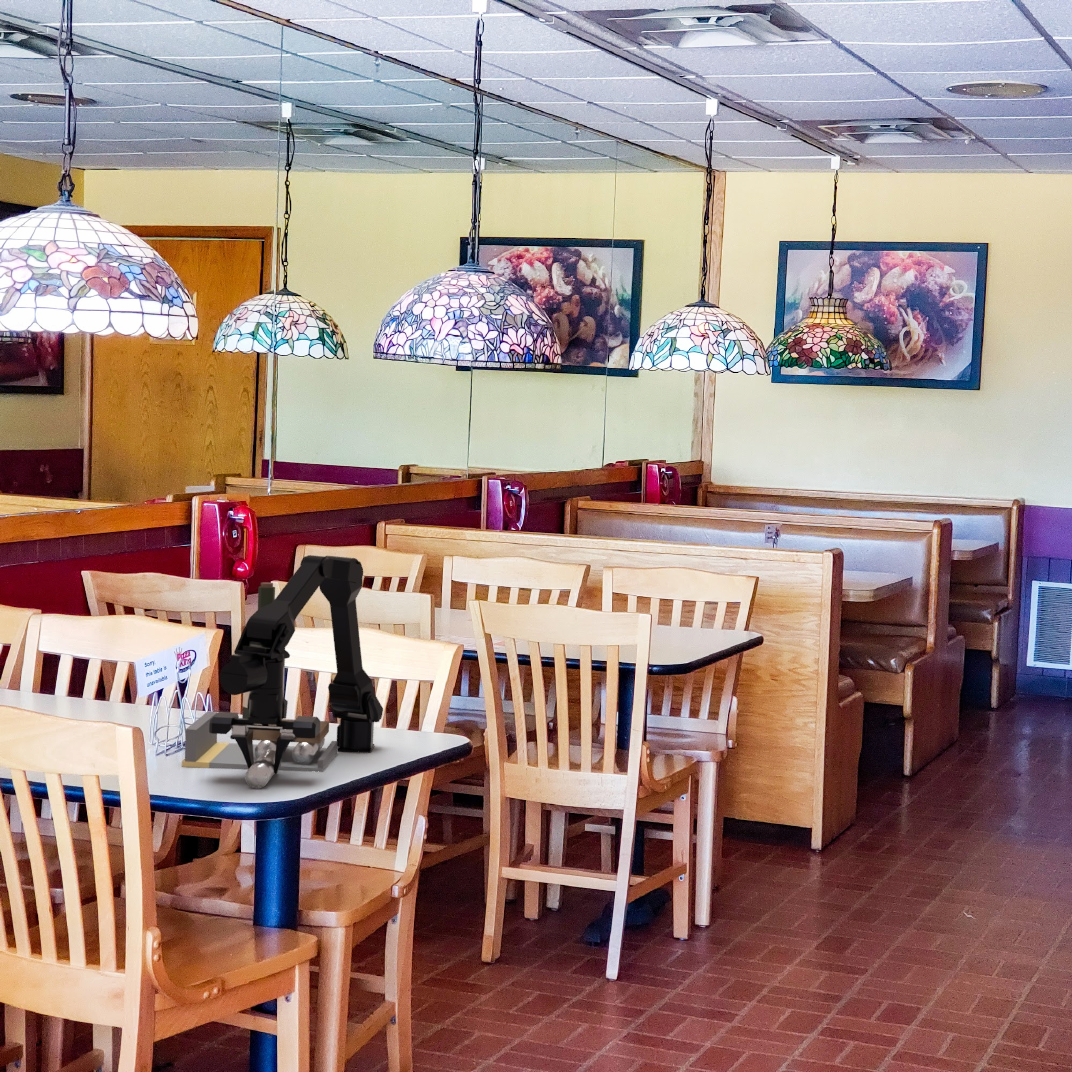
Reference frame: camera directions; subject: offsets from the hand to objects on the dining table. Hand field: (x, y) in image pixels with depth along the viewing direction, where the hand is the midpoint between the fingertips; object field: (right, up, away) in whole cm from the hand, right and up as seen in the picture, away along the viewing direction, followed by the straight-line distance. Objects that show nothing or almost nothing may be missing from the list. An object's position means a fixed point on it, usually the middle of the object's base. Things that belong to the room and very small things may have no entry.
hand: (263, 772), depth 261 cm
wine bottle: (-9, +2, +46) cm, 47 cm away
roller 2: (0, -1, 0) cm, 1 cm away
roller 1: (-2, +1, +17) cm, 17 cm away
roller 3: (+5, 0, +17) cm, 18 cm away
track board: (-4, 0, +17) cm, 18 cm away
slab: (+2, +4, +17) cm, 17 cm away
